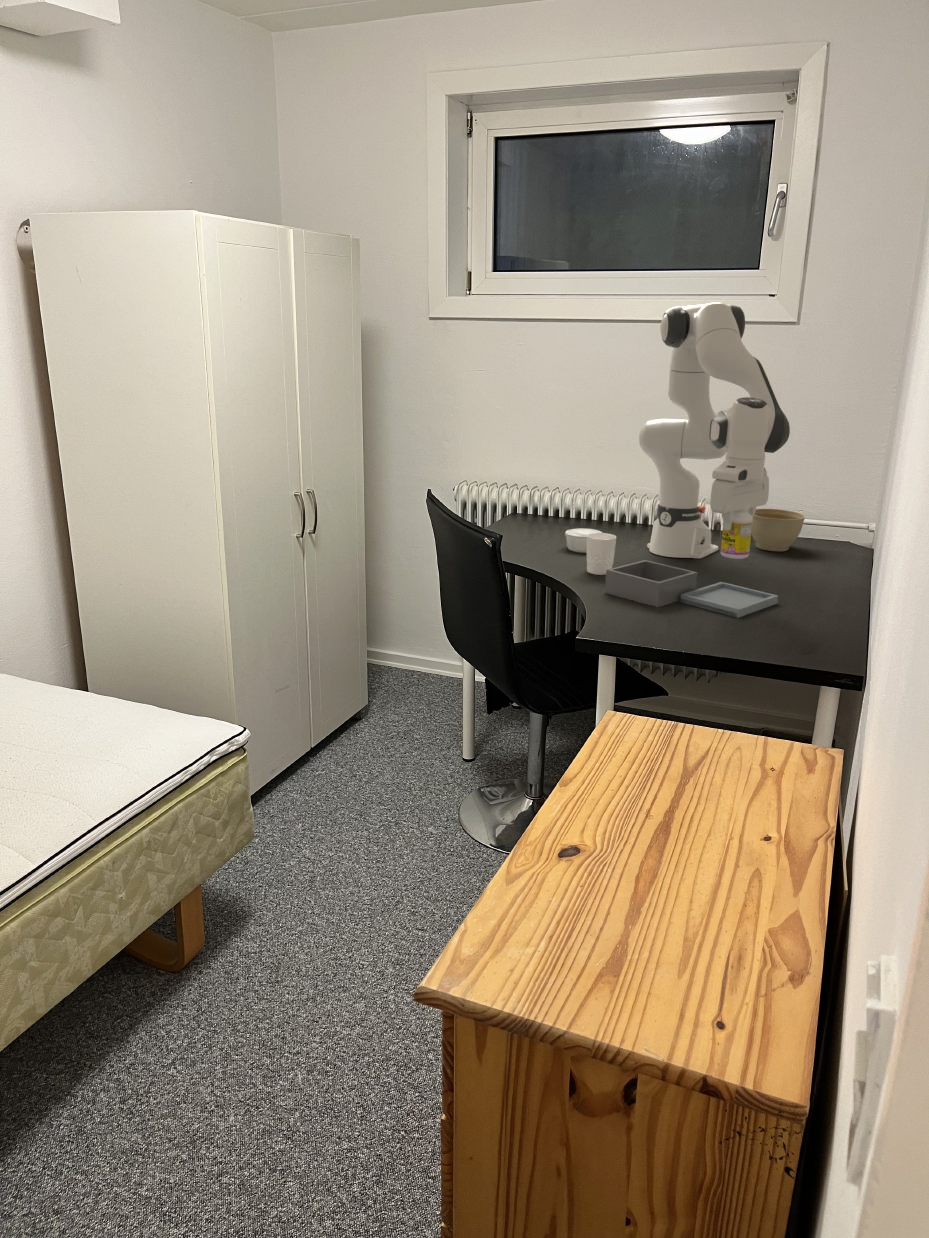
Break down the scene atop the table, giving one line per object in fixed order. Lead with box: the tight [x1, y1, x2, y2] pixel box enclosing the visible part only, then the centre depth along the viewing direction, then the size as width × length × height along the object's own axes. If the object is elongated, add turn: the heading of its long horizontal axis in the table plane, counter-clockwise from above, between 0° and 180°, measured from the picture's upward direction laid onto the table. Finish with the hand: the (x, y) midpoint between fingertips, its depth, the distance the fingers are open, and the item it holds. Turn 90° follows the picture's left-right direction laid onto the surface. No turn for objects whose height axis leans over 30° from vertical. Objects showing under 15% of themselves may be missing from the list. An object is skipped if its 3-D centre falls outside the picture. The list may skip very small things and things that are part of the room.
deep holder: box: [604, 559, 698, 608], centre depth 228 cm, size 16×16×6 cm
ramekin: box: [564, 527, 603, 554], centre depth 273 cm, size 11×11×5 cm
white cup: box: [586, 532, 617, 576], centre depth 247 cm, size 8×8×10 cm
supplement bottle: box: [720, 504, 753, 560], centre depth 218 cm, size 7×7×13 cm
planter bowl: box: [751, 508, 806, 552], centre depth 278 cm, size 16×16×11 cm
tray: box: [679, 581, 779, 619], centre depth 223 cm, size 18×16×2 cm
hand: (737, 527), depth 217 cm, fingers closed on supplement bottle, 7 cm apart
